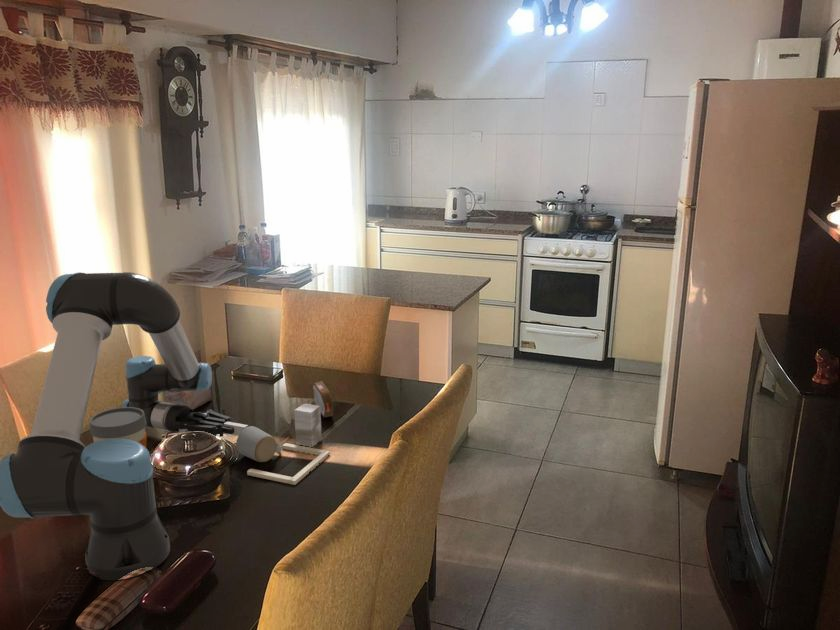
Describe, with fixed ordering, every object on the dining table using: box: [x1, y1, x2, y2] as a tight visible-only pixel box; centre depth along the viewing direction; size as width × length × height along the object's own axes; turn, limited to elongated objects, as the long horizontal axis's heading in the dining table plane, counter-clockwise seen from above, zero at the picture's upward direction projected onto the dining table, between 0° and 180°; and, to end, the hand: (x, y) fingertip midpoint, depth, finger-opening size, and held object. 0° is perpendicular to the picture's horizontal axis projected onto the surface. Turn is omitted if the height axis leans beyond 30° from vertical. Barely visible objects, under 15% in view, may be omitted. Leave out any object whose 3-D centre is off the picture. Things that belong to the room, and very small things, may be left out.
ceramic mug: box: [235, 425, 283, 463], centre depth 173 cm, size 11×8×8 cm
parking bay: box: [246, 442, 331, 486], centre depth 169 cm, size 17×14×1 cm
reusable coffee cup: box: [89, 406, 148, 448], centre depth 163 cm, size 13×13×15 cm
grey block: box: [293, 403, 323, 448], centre depth 180 cm, size 5×5×10 cm
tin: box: [312, 380, 334, 418], centre depth 201 cm, size 15×3×8 cm, turn 22°
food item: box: [164, 387, 213, 411], centre depth 204 cm, size 14×8×10 cm, turn 160°
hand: (246, 431), depth 173 cm, fingers closed
